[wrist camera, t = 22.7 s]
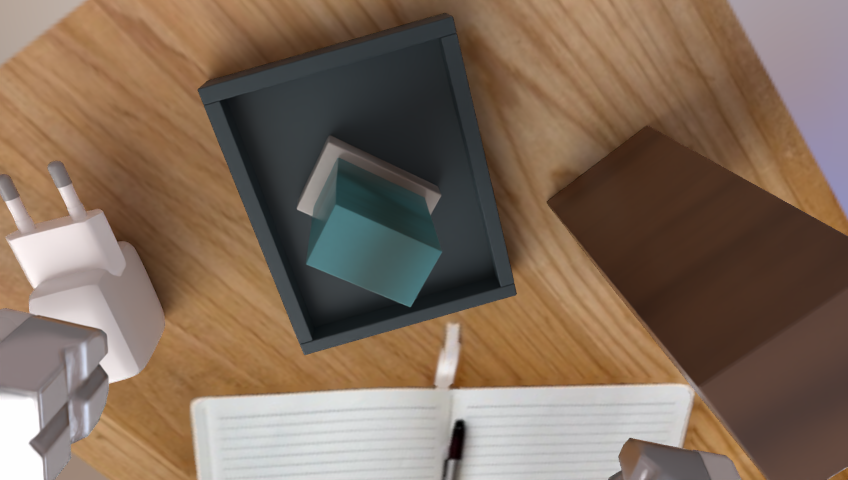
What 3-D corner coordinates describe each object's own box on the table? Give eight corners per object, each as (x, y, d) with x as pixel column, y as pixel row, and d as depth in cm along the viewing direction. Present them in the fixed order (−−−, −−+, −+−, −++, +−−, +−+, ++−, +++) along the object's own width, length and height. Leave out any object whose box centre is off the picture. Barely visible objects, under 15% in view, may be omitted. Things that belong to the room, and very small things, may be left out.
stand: (545, 201, 38) (697, 387, 21) (647, 124, 37) (890, 258, 20) (608, 283, 41) (787, 505, 24) (705, 213, 39) (963, 396, 23)
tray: (206, 81, 33) (196, 89, 31) (446, 12, 33) (452, 16, 31) (306, 334, 40) (304, 355, 38) (508, 277, 40) (517, 295, 38)
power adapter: (9, 160, 34) (-55, 198, 29) (101, 137, 34) (55, 171, 29) (100, 340, 38) (60, 402, 33) (181, 320, 38) (155, 378, 33)
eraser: (297, 199, 36) (283, 267, 28) (329, 134, 34) (323, 185, 27) (405, 247, 37) (420, 323, 29) (438, 186, 36) (463, 248, 28)
